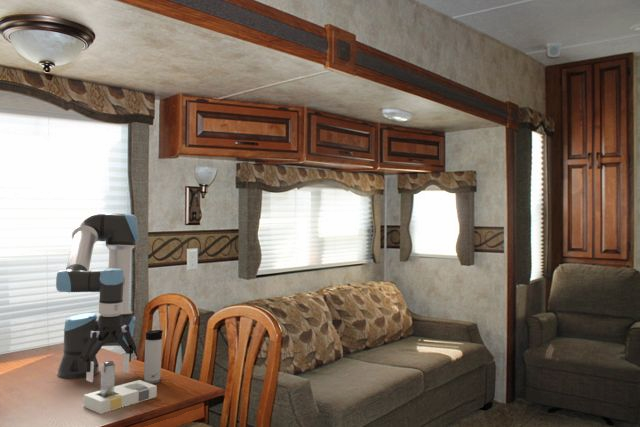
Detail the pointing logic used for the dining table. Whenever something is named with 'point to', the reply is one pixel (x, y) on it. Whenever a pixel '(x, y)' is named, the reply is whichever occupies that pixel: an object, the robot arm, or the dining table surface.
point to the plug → (107, 379)
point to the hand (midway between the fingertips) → (108, 376)
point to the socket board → (120, 396)
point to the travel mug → (153, 356)
